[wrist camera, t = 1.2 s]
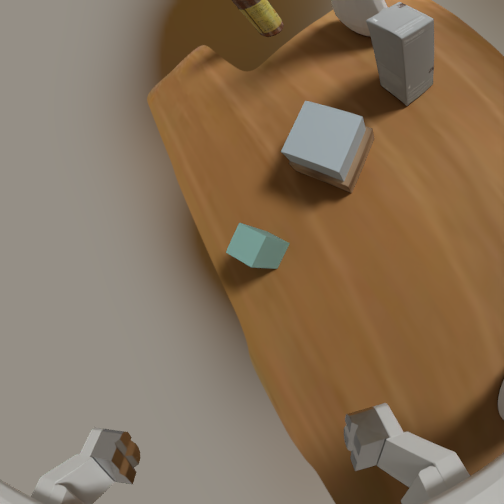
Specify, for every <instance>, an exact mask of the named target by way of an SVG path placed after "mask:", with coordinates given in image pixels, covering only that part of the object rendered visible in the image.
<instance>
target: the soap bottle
mask: <svg viewBox="0 0 504 504" xmlns="http://www.w3.org/2000/svg"><path fill="white" fill-rule="evenodd" d="M331 3H332V6H333V9H334V12H335V14H336V16H337V17H338V18H339V19H340V21H341V22H342V23H344V24H345V25H346V26H347V27H348V28H350V29H351V30H353V31H355V32H356V33H358V34H362V35H365V36H370V33H369V29H368V25H367V23H366V20H367V19H369V18H371V17H373V16H374V15H376V14H378V13H380V11H381V10H382V9H384V8H388V7H387V4H386V2H385V0H331Z"/></svg>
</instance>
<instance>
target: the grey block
mask: <svg viewBox="0 0 504 504" xmlns="http://www.w3.org/2000/svg"><path fill="white" fill-rule="evenodd" d="M365 130H366V129H365V124H364V120H363V117H362V116H359V115H356V114H353V113H349V112H346V111H343V110H339V109H336V108H332V107H328V106H324V105H321V104H317V103H313V102H308V101H305V103H304V105H303V107H302V109H301V111H300V113H299V115H298V117H297V119H296V121H295V123H294V125H293V127H292V129H291V132H290V134H289V136H288V138H287V140H286V142H285V144H284V146H283V148H282V150H281V152H282V153H283V154H284V155H285V156H286V157H287V158H288V159H289V160H290V161H291V162H294V163H297V164H299V165H302V166H305V167H308V168H310V169H313V170H316V171H318V172H321V173H323V174H326V175H329V176H331V177H334V178H336V179H339V180H341V181H343V182H344V180H345V178H346V176H347V174H348V171H349V169H350V167H351V164H352V162H353V160H354V157H355V155H356V152H357V150H358V148H359V145H360V143H361V140H362V138H363V135H364V133H365Z"/></svg>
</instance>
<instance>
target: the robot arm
mask: <svg viewBox="0 0 504 504" xmlns="http://www.w3.org/2000/svg"><path fill="white" fill-rule="evenodd" d="M498 410H499V414H500V416H501V417H502V419H503V420H504V380H503V383H502V385H501V388H500V392H499V397H498ZM345 421H346V424H347V425H346V426H345V427H344V439H345V443H346V447H347V449H348V450H350V451H351V461H352V464H353V467H354V469H355V471H357V470H361V469H364V468H368V467H371V466H375V465H377V466H378V467H379V468H381V469H382V470H384V471H385V472H387V473H388V474H390V475H391V476H393V477H394V478H396V479H397V480H399V481H400V482H402V483H403V484H405V485H406V486H408V487H409V489H408V491H407V492H406V494H405V495H404V497H403V498H402V500H401V503H402V504H504V453H502V454H501V455H500V456H499V457H497V458H496V459H495V460H493V461H492V462H490V463H489V464H488V465H486V466H485V467H483V468H482V469H480V470H479V471H477V472H476V473H474V474H473V475H471V476H470V475H469V473H468V472H467V470H466V468H465V467H464V465H463V463H462V462H461V460H460V459H459V457H458V455H457V454H456V452H453V451H451V450H448V449H446V448H444V447H441V446H439V445H437V444H434V443H432V442H430V441H427V440H425V439H423V438H421V437H418V436H416V435H414V434H412V433H410V432H408V431H407V432H403V430H402V429H401V427H400V425H399V423H398V422H397V420H396V418H395V416H394V415H393V413H392V411H391V409H390V408H389V406H388V404H386V403H383V404H380V405H377V406H374V407H369V408H366V409H363V410H360V411H356V412H353V413H349V414H347V415H346V418H345ZM139 461H140V451H139V448H138V446H137V445H136V444H135V443H134V442H132V441H131V436H130V435H129V433H128V432H122V431H115V430H109V429H102V428H96V427H95V428H93V429H92V430H91V432H90V434H89V436H88V438H87V440H86V442H85V444H84V446H83V448H82V450H81V452H80V454H76V455H74V456H73V457H71V458H70V459H68V460H67V461H65V462H64V463H62V464H60V465H59V466H57V467H56V468H54V469H52V470H51V471H49V472H48V473H46V474H44V475H43V476H41V477H40V479H39V482H38V484H37V486H36V487H35V489H34V492H33V494H32V496H31V497H30V496H28V495H26V494H24V493H22V492H21V491H19V490H17V489H15V488H14V487H12V486H10V485H8V484H7V483H5V482H3V481H2V480H0V504H93V503H94V502H95V501H96V500H97V499H98V498H99V497H100V496H101V495H102V494H104V492H106V491H107V490H108V489H109V488H110V487H111V486H112V485H113V484H114V483H115V482H121V483H127V484H133V482H134V478H135V475H136V471H135V469H134V467H135V466H137V465H138V464H139ZM114 481H115V482H114Z"/></svg>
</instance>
